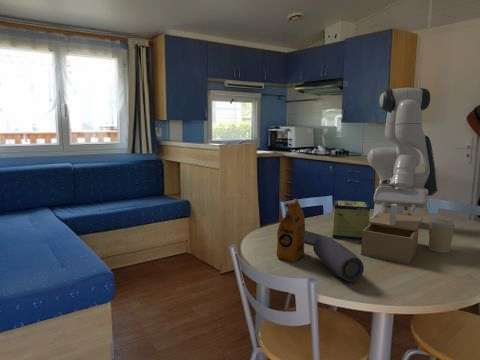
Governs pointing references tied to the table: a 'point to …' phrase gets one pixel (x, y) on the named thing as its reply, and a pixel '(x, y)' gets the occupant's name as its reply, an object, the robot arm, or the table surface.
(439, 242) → the coffee cup
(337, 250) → the bluetooth speaker
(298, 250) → the coffee package
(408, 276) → the table surface
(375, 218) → the carton lid
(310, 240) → the notebook
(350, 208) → the protein box
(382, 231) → the carton
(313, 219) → the table surface
